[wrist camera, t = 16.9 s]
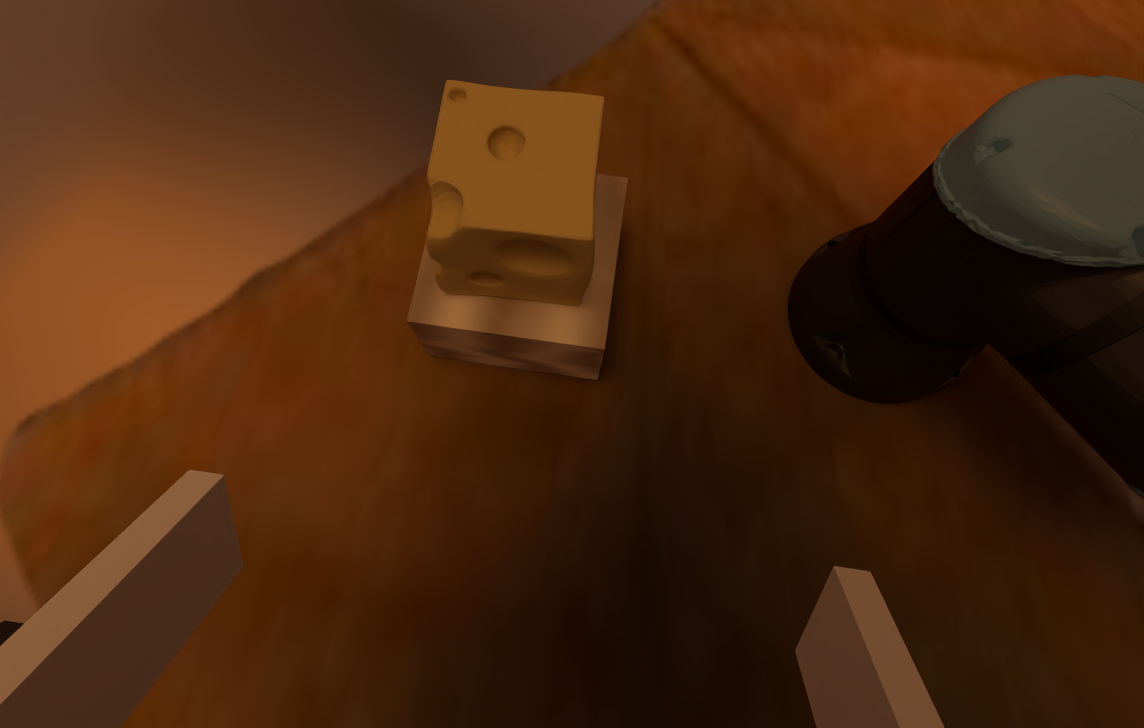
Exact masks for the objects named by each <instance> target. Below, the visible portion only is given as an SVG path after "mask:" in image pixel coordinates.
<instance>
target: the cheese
mask: <svg viewBox="0 0 1144 728" xmlns="http://www.w3.org/2000/svg"><path fill="white" fill-rule="evenodd" d="M604 103H605V99H604V97H602V96H595V95H589V94H582V93H572V92H554V91H537V90H523V89H513V88H503V87H495V86H487V85H480V84H473V83H468V82H462V81H455V80H447V81H446V84H445V88H444V93H443V98H442V103H441V109H440V113H439V118H438V122H437V128H436V133H435V139H434V144H433V148H432V152H431V156H430V161H429V166H428V174H427V179H428V184H429V188H430V192H431V198H432V213H431V219H430V223H429V227H428V231H427V237H426V246H427V250H428V253H429V255H430V257H431V259H433V260H435V261H437V264H436V269H435V279H436V282H437V285H438V286H439V288H440V289H441V290H443V291H444V292H446V293H449V294H456V295H487V296H498V297H505V298H515V299H523V300H532V301H540V302H548V303H556V304H563V305H571V306H579V305H580V303H581V299H582V297H583V295H584V293H585V291H586V289H587V287H588V285H589V283H590V280H591V277H592V273H593V267H594V257H595V226H594V195H595V188H596V179H597V171H598V163H599V153H600V143H601V134H602V124H603V115H604Z"/></svg>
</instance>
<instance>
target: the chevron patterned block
mask: <svg viewBox="0 0 1144 728" xmlns="http://www.w3.org/2000/svg"><path fill="white" fill-rule="evenodd" d="M627 179H628V178H625V177H617V176H610V175H602V174H597V179H596V188H595V195H594V226H595V257H594V267H593V273H592V277H591V280H590V283H589V285H588V287H587V289H586V291H585V293H584V295H583V297H582V299H581V303H580V305H579V306H571V305H563V304H556V303H548V302H540V301H532V300H523V299H515V298H505V297H498V296H487V295H456V294H449V293H446V292H444V291H443V290H441V289H440V288H439V286H438V285H437V282H436V279H435V269H436V264H437V261H435V260H433V259H431V257H430V255H429V253H428V250H427V246H426V244H425V248H424V252H423V256H422V261H421V265H420V269H419V273H418V277H417V281H416V285H415V289H414V293H413V297H412V302H411V306H410V310H409V314H408V318H407V322H408V324H409V325H410V327H411V328H412V330H413V331H414V333H415V334H416V335H417V337H418V338H419V340H420V341H421V343H422V344H423V346H424V347H425V348H426V350H427V351H428V353H429V354H430V356H433V357H440V358H447V359H454V360H461V361H468V362H475V363H482V364H489V365H496V366H503V367H510V368H517V369H524V370H531V371H538V372H545V373H552V374H559V375H565V376H572V377H579V378H586V379H593V380H598V376H599V372H600V368H601V363H602V359H603V355H604V351H605V344H606V337H607V329H608V322H609V314H610V307H611V299H612V292H613V284H614V277H615V269H616V262H617V254H618V247H619V239H620V232H621V224H622V217H623V209H624V202H625V194H626V187H627Z"/></svg>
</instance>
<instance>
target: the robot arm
mask: <svg viewBox="0 0 1144 728" xmlns="http://www.w3.org/2000/svg"><path fill="white" fill-rule="evenodd" d="M788 313H789V321H790V326H791V330H792V333H793V336H794V339H795V341H796V343H797V345H798V347H799V349H800V351H801V353H802V354H803V356H804V357H805V359H806V360H807V361H808V363H809V364H810V365H811V366H812V367H813V369H814V370H815V371H816V372H817V373H818V374H819V375H820V376H822V377H823V378H824V379H825V380H826V381H828V382H829V383H830V384H832V385H833V386H835V387H836V388H838V389H840V390H842V391H843V392H845V393H848V394H850V395H852V396H855V397H857V398H860V399H863V400H867V401H872V402H878V403H903V402H908V401H913V400H916V399H919V398H922V397H924V396H927V395H929V394H932V393H934V392H937V391H939V390H941V389H943V388H944V387H946V386H948V385H949V384H951V383H952V382H953V381H955V380H956V379H957V378H958V377H960V376H961V375H962V373H963V372H964V371H965V370H966V369H967V368H968V366H969V365H970V364H971V362H972V361H973V359H974V357H975V356H976V355H977V354H979V353H980V352H981V351H982V349H983V348H984V347H985V346H986V345H987V343H989V344H990V345H991V346H992V347H993V348H995V349H996V350H997V351H998V352H999V353H1000V354H1001V355H1002V356H1003V357H1004V358H1005V359H1006V360H1007V361H1008V362H1009V363H1010V364H1011V365H1012V366H1013V367H1014V368H1015V369H1016V370H1017V371H1018V372H1019V373H1020V374H1021V375H1022V376H1023V377H1024V378H1025V379H1026V380H1027V381H1028V382H1029V383H1030V384H1031V385H1032V386H1033V387H1034V389H1035V390H1036V391H1037V392H1038V393H1039V394H1040V395H1041V396H1042V397H1043V398H1044V399H1045V400H1046V401H1047V402H1048V403H1049V404H1050V405H1051V406H1052V407H1053V408H1054V409H1055V410H1056V411H1057V412H1058V413H1059V414H1060V415H1061V416H1062V417H1063V418H1064V419H1065V420H1066V421H1067V422H1068V423H1069V424H1070V425H1071V426H1072V427H1073V428H1074V429H1075V430H1076V431H1077V432H1078V433H1079V434H1080V435H1081V436H1082V437H1083V438H1084V439H1085V440H1086V442H1087V443H1088V444H1089V445H1090V446H1091V447H1092V448H1093V449H1094V450H1095V451H1096V452H1097V453H1098V454H1099V455H1100V456H1101V457H1102V458H1103V459H1104V460H1105V461H1106V462H1107V463H1108V464H1109V465H1110V466H1111V467H1112V468H1113V469H1114V470H1115V471H1116V472H1117V473H1118V474H1119V475H1120V476H1121V477H1122V478H1123V479H1124V481H1125V483H1126V484H1127V485H1128V486H1129V487H1130V488H1131V489H1132V490H1133V491H1134V492H1135V493H1136V494H1137V495H1139V496H1140V497H1142V498H1143V499H1144V83H1142V82H1139V81H1135V80H1131V79H1126V78H1120V77H1114V76H1107V75H1100V76H1096V77H1089V76H1082V75H1066V76H1059V77H1053V78H1048V79H1044V80H1041V81H1037V82H1034V83H1031V84H1028V85H1026V86H1023V87H1021V88H1019V89H1017V90H1015V91H1013V92H1011V93H1009V94H1008V95H1006V96H1004V97H1003V98H1002V99H1000V100H999V101H997V102H996V103H995V104H993V105H992V106H991V107H990V108H989V109H988V110H987V111H986V112H984V113H983V114H982V115H981V116H980V117H979V118H978V119H977V120H976V121H975V122H973V123H972V124H971V125H970V126H969V127H967V128H965V129H963V130H962V131H960V132H959V133H957V134H956V135H955V136H953V137H952V138H951V139H950V140H949V141H948V142H947V143H946V144H945V145H944V147H943V148H942V149H941V151H940V154H939V155H938V156H937V158H936V160H935V161H934V162H933V163H932V164H931V165H930V166H929V167H928V168H927V169H926V170H925V171H924V172H923V173H922V174H921V175H920V176H919V177H918V178H917V179H916V180H915V181H914V182H913V183H912V184H911V185H910V186H909V187H908V188H907V189H906V190H905V191H904V192H903V193H902V194H901V195H900V196H899V197H898V198H897V199H896V200H895V201H894V202H893V203H892V204H891V205H890V206H889V207H888V208H887V209H886V210H885V211H884V212H883V213H882V214H881V215H880V216H879V217H878V218H877V219H876V220H875V221H873V222H871V223H868V224H865V225H863V226H860V227H858V228H855V229H853V230H851V231H848V232H845V233H843V234H840V235H838V236H836V237H834V238H832V239H831V240H829V241H828V242H826V243H825V244H824V245H822V246H821V247H820V248H819V249H818V250H817V251H816V252H815V253H814V254H813V255H812V256H811V257H810V258H809V259H808V260H807V262H806V263H805V264H804V265H803V266H802V268H801V269H800V270H799V272H798V274H797V275H796V277H795V279H794V282H793V284H792V287H791V291H790V295H789V304H788ZM242 568H243V562H242V557H241V553H240V548H239V543H238V538H237V534H236V529H235V524H234V519H233V515H232V510H231V505H230V501H229V496H228V491H227V486H226V482H225V477H224V475H220V474H214V473H207V472H200V471H194V470H189V471H188V472H187V473H185V474H184V475H183V476H182V477H181V478H180V479H179V480H178V481H177V482H176V483H175V484H174V485H173V486H172V487H170V488H169V489H168V490H167V491H166V492H165V493H164V494H163V495H162V496H161V497H160V498H159V499H158V500H157V501H155V502H154V503H153V504H152V505H151V506H150V507H149V508H148V509H147V510H146V511H145V512H144V513H143V514H141V515H140V516H139V517H138V518H137V519H136V520H135V521H134V522H133V523H132V524H131V525H130V526H129V527H128V528H126V529H125V530H124V531H123V532H122V533H121V534H120V535H119V536H118V537H117V538H116V539H115V540H114V541H113V542H111V543H110V544H109V545H108V546H107V547H106V548H105V549H104V550H103V551H102V552H101V553H100V554H99V555H98V556H96V557H95V558H94V559H93V560H92V561H91V562H90V563H89V564H88V565H87V566H86V567H85V568H84V569H82V570H81V571H80V572H79V573H78V574H77V575H76V576H75V577H74V578H73V579H72V580H71V581H70V582H69V583H67V584H66V585H65V586H64V587H63V588H62V589H61V590H60V591H59V592H58V593H57V594H56V595H55V596H54V597H52V598H51V599H50V600H49V601H48V602H47V603H46V604H45V605H44V606H43V607H42V608H41V609H40V610H39V611H37V612H36V613H35V614H34V615H33V616H32V617H31V618H30V619H29V620H28V621H27V622H26V623H25V624H23V623H17V622H10V621H3V622H1V623H0V728H121V726H122V725H123V724H124V723H125V721H126V720H127V719H128V717H129V716H130V715H131V713H132V712H133V711H134V709H135V708H136V707H137V705H138V704H139V703H140V702H141V700H142V699H143V698H144V696H145V695H146V694H147V692H148V691H149V690H150V688H151V687H152V686H153V684H154V683H155V682H156V680H157V679H158V678H159V677H160V675H161V674H162V673H163V671H164V670H165V669H166V667H167V666H168V665H169V663H170V662H171V661H172V659H173V658H174V657H175V656H176V654H177V653H178V652H179V650H180V649H181V648H182V646H183V645H184V644H185V642H186V641H187V640H188V638H189V637H190V636H191V635H192V633H193V632H194V631H195V629H196V628H197V627H198V625H199V624H200V623H201V621H202V620H203V619H204V617H205V616H206V615H207V613H208V612H209V611H210V610H211V608H212V607H213V606H214V604H215V603H216V602H217V600H218V599H219V598H220V596H221V595H222V594H223V592H224V591H225V590H226V589H227V587H228V586H229V585H230V583H231V582H232V581H233V579H234V578H235V577H236V575H237V574H238V573H239V571H240V570H241V569H242ZM795 652H796V656H797V659H798V663H799V666H800V670H801V673H802V677H803V680H804V684H805V687H806V691H807V694H808V698H809V701H810V705H811V709H812V712H813V716H814V719H815V723H816V726H817V728H944V726H943V724H942V722H941V720H940V717H939V715H938V713H937V711H936V709H935V707H934V705H933V703H932V701H931V698H930V696H929V694H928V692H927V690H926V688H925V686H924V684H923V682H922V679H921V677H920V675H919V673H918V671H917V669H916V667H915V665H914V663H913V661H912V658H911V656H910V654H909V652H908V650H907V648H906V646H905V644H904V642H903V639H902V637H901V635H900V633H899V631H898V629H897V627H896V625H895V623H894V620H893V618H892V616H891V614H890V612H889V610H888V608H887V606H886V604H885V601H884V599H883V597H882V595H881V593H880V591H879V589H878V587H877V585H876V583H875V580H874V578H873V576H872V574H871V572H870V571H863V570H857V569H850V568H843V567H836V566H834V567H833V569H832V571H831V573H830V576H829V578H828V580H827V582H826V584H825V586H824V589H823V591H822V593H821V595H820V597H819V600H818V602H817V604H816V606H815V608H814V610H813V613H812V615H811V617H810V619H809V621H808V623H807V626H806V628H805V630H804V632H803V634H802V637H801V639H800V641H799V643H798V645H797V647H796V650H795Z"/></svg>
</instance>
